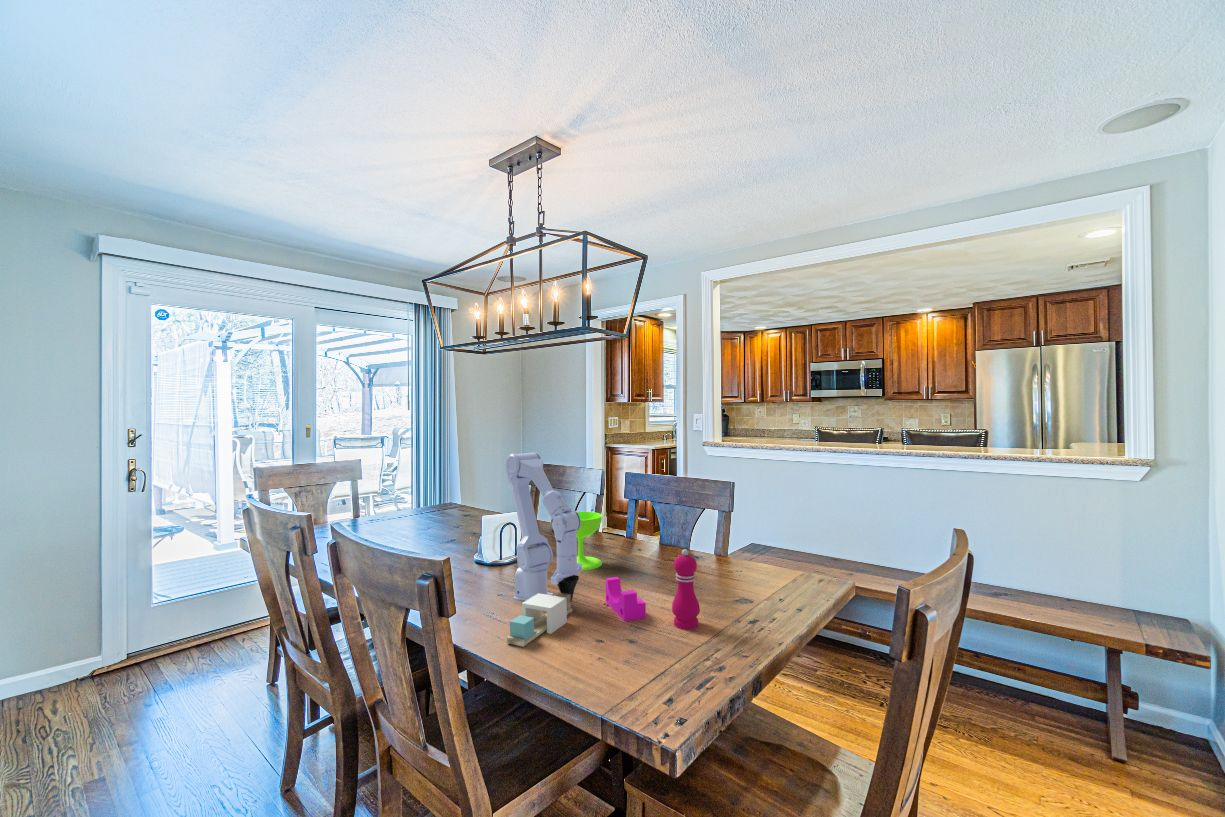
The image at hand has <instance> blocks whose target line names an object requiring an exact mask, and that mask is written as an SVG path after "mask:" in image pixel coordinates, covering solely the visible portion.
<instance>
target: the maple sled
mask: <svg viewBox="0 0 1225 817" xmlns="http://www.w3.org/2000/svg"><path fill="white" fill-rule="evenodd" d="M554 596H559V597H565V598H566V600H567V616H569V615H570V614H571V613H572V612H573V608H572V602H571V594H566V593H561V592H560V591H558V592H557V593H554ZM544 632H547V612H546V613H545V614H543V616H542V617H540V618H539V619H537V620H536V621H534V635H533V636H532V637H530V638H529V639H527V640H526V641H525V639H520V638H515V637H510V635H507V636H506V644H509V645H514V646H518V647H525V646H527V645H528V644H530V643H531V642H532V641H533V640H535V639H536V638H538V637H539V636H540V635H542V634H543V633H544Z"/></svg>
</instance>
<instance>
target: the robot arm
mask: <svg viewBox="0 0 1225 817" xmlns="http://www.w3.org/2000/svg"><path fill="white" fill-rule="evenodd" d="M504 466H505V470H506V471H505V472H506V474H507V475H506V476H507V479H508V482H509V483H510V488H511V493H512V497H513V501H514V505H515V509H516V514H517V515H516V516H517V518H518V519H517V520H518V524H519V528H520V532H521V533H520V534H521V540H520V542H518V544H516V562H517V565H518V568H517V569H516V571H515V574H514V596H513V598H512V599H514V600H519V601H523V602H524V601H526V600H528V599H530V598H531V597H533V596H535V595H536V594H538V593H540V594H546V595H553V596H554V593H553V592H550V591H549V592H548V568H549V567H550V564H551V563H552V561H553V559H554V558H553V557H554V554H553V549H552V547H551V546H550V544H549V540H548V538H547V537H545V536H544V535H542V534H541V533H540V530H539V526H538V521H537V516H536V513H535V509H534V508H535V506H534V504H533V498H532V495H531V490H530V487H529V484H530V482H531V481H532V482H533V484H534V485H535V487H536V488H537V489H538V491H539V492H540V493H541V495H542V500H541V501H542V504H543V506H544V507H545V509H546V511H547V513H548V514H549V516H550V518H551V520H552V522H551V528H552V530H553V533H554V538H555V540H556V569H555V571H554V573H553V575H552V576H550V585H554V586H555V585H556V586H557V588H558V590H559V593H566V594H571V603H572V601H573V597H574V592H575V589H576V586H577V583H578V582H579V579H580V576H579V575H581V571H583V570H582V564H581V563H577V556H578V538H577V532H576V530H578V529H579V528H580V525H581V520H580V516H579V514H578V512H579V511H577V510H574V509H572V507H570V506H569V505H568V504H567V502H566V501H565V499H564V498H563V495H562V493H561V492H560V491H558V490H554V488H553V486H552V484H551V483H550V480H549V478H548V477H547V474H546V472H545V470H544V460H543V459H542V457H541V455H540V453H539V452H537V451H533V452H528V453H527V452H525V453H524V452H523V453H510V454H509V455H508V456H507V459H506V462H505V464H504Z"/></svg>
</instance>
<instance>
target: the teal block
mask: <svg viewBox="0 0 1225 817" xmlns="http://www.w3.org/2000/svg"><path fill="white" fill-rule="evenodd" d="M533 635H534V618H532V617H527V616H522V614H518V616H516V617H515V618H513V619H511V620H509V636H510V637H515V638H520V639H525V641H526V640H527V639H529V638H530V637H532V636H533Z"/></svg>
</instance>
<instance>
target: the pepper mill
mask: <svg viewBox="0 0 1225 817" xmlns="http://www.w3.org/2000/svg"><path fill="white" fill-rule="evenodd" d="M697 567H698V564H697V561H696V559H695V557H694V556H692V555H690V554H689V550H688V549H686V548H684V549H682V550H681V555H678V556H677V557H676V558H675V559H674V561H673V568H674V570H675V572H676V573H675V576H676V577H675V580H676V581H677V587H676V588H677V589H676V593H675V595H674V598H673V601H672V604H671V611H672V614H673V615H674V616H675V617H674V618H673V625H674V627H675V628H677V629H680V630H687V631H688V630H694V629H697V628H698V627H699V618H698V616H699V615H700V612H701V609H700V608H701V607H700V603H699V601H698V598H697V595H696V593H695V589H694V581H696V578H695V577H696V573H695V572H696V571H697V569H698V568H697Z"/></svg>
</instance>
